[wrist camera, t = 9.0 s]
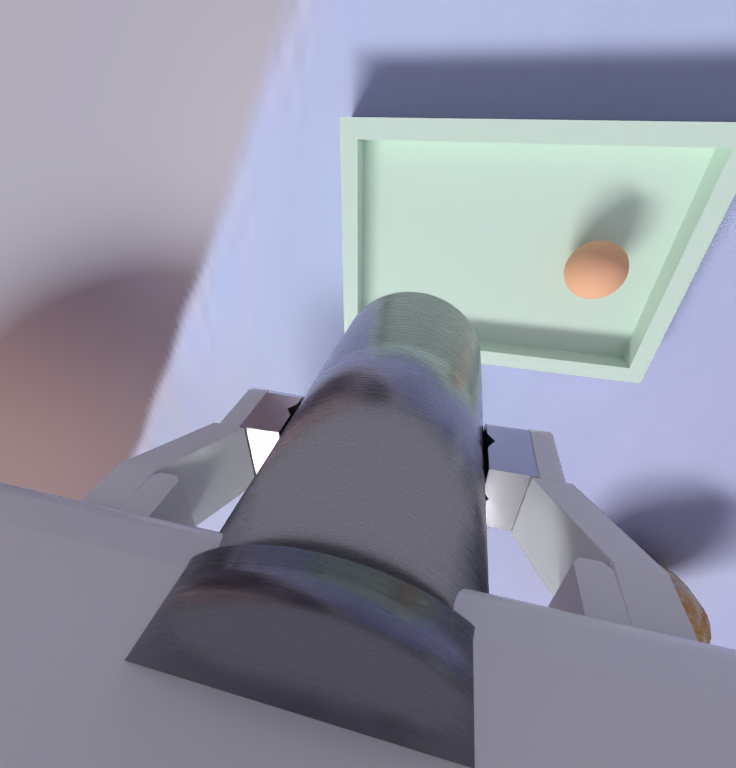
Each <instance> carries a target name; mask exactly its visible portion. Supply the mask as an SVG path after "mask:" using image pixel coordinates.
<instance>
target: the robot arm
mask: <svg viewBox="0 0 736 768" xmlns="http://www.w3.org/2000/svg"><path fill="white" fill-rule="evenodd" d="M303 399H304V396H299V395H293V394H288V393H282V392H276V391H269V390H263V389H257V388H253V389H250V390H248V392H247V393H246V394H245V395H244V396H243V397H242V398H241V400H240V401H239V402H238V403H237V404H236V405H235V406H234V408H233V409H232V410H231V411H230V412H229V413H228V415H227V416H226V417H225V418H224V419H223V420H222V421H221V423H220V424H219V423H213V424H210V425H208V426H206V427H203V428H201V429H199V430H196V431H194V432H192V433H189V434H187V435H185V436H182V437H180V438H178V439H175V440H173V441H171V442H168V443H166V444H164V445H161V446H159V447H157V448H154V449H152V450H150V451H147V452H145V453H143V454H140V455H138V456H136V457H133V458H131V459H129V460H126V461H124V462H122V463H120V464H119V465H118V466H117V467H116V468H115V469H114V470H113V471H112V472H111V473H110V474H109V475H108V476H107V477H106V478H104V479H103V480H102V481H101V482H100V483H99V484H98V485H97V486H96V487H95V488H94V489H93V490H92V491H91V492H90V493H89V494H87V495H86V496H85V497H84V498H83V499H82V500H81V501H80V500H75V499H71V498H66V497H62V496H58V495H53V494H49V493H44V492H40V491H35V490H31V489H26V488H22V487H18V486H14V485H9V484H4V483H0V768H470V767H467V766H464V765H461V764H457V763H454V762H451V761H448V760H444V759H441V758H438V757H435V756H432V755H428V754H425V753H422V752H419V751H415V750H412V749H409V748H406V747H402V746H399V745H396V744H393V743H390V742H386V741H383V740H380V739H377V738H373V737H370V736H367V735H364V734H360V733H357V732H354V731H351V730H348V729H344V728H341V727H338V726H335V725H331V724H328V723H325V722H322V721H319V720H315V719H312V718H309V717H306V716H302V715H299V714H296V713H293V712H289V711H286V710H283V709H280V708H277V707H273V706H270V705H267V704H264V703H260V702H257V701H254V700H251V699H247V698H244V697H241V696H238V695H235V694H231V693H228V692H225V691H222V690H218V689H215V688H212V687H209V686H206V685H202V684H199V683H196V682H193V681H189V680H186V679H183V678H180V677H176V676H173V675H170V674H167V673H164V672H160V671H157V670H154V669H151V668H147V667H144V666H141V665H138V664H134V663H131V662H128V661H125V659H126V657H127V656H128V654H129V653H130V651H131V650H132V648H133V647H134V645H135V644H136V642H137V641H138V639H139V638H140V636H141V635H142V633H143V632H144V630H145V629H146V627H147V626H148V624H149V623H150V621H151V620H152V618H153V617H154V615H155V614H156V612H157V610H158V609H159V607H160V606H161V604H162V603H163V601H164V600H165V598H166V597H167V595H168V594H169V592H170V591H171V589H172V588H173V586H174V585H175V583H176V582H177V580H178V579H179V577H180V576H181V574H182V573H183V571H184V570H185V568H186V567H187V565H188V563H189V561H190V560H191V558H192V557H193V556H195V555H197V554H200V553H202V552H204V551H207V550H210V549H215V548H218V547H219V545H220V543H221V540H222V537H223V534H222V533H220V532H216V531H211V530H207V529H203V528H198V527H197V525H198V524H199V523H201V522H202V521H204V520H205V519H206V518H208V517H209V516H211V515H212V514H213V513H215V512H216V511H218V510H219V509H220V508H222V507H223V506H225V505H226V504H227V503H229V502H230V501H232V500H233V499H234V498H236V497H237V496H239V495H240V494H241V493H243V492H244V491H246V489H247V488H248V486H249V485H250V483H251V481H252V480H253V478H254V477H255V475H256V473H257V472H258V470H259V469H260V467H261V466H262V464H263V462H264V461H265V459H266V458H267V456H268V454H269V453H270V451H271V450H272V448H273V447H274V445H275V443H276V442H277V440H278V439H279V437H280V435H281V434H282V432H283V431H284V429H285V428H286V426H287V424H288V423H289V421H290V420H291V418H292V416H293V415H294V413H295V412H296V410H297V408H298V407H299V405H300V404H301V402H302V401H303ZM483 441H484V470H485V498H486V526H489V527H494V528H498V529H503V530H507V531H512V532H511V534H512V535H513V537H514V538H515V540H516V541H517V543H518V544H519V546H520V548H521V549H522V551H523V552H524V554H525V555H526V557H527V558H528V560H529V562H530V563H531V565H532V566H533V568H534V569H535V571H536V572H537V574H538V576H539V577H540V579H541V580H542V582H543V583H544V585H545V586H546V588H547V590H548V591H549V593H550V594H551V596H552V597H553V599H552V601H551V602H550V604H549V606H548V607H545V606H541V605H536V604H532V603H528V602H523V601H519V600H514V599H510V598H506V597H501V596H497V595H492V594H488V593H484V592H479V591H475V590H470V589H462V590H461V591H459V593H458V595H457V596H456V600H455V604H454V607H453V610H454V611H456V612H457V613H458V614H460V615H461V616H462V617H464V618H465V619H466V620H468V621H469V622H470V623H471V624H472V625H473V626H475V630H474V637H473V673H474V746H475V768H736V650H734V649H729V648H725V647H720V646H716V645H712V644H707V643H703V642H699V641H698V639H697V637H696V635H695V632H694V630H693V628H692V626H691V623H690V621H689V619H688V617H687V614H686V612H685V610H684V607H683V605H682V603H681V601H680V598H679V596H678V594H677V592H676V589H675V587H674V585H673V583H672V580H671V578H670V576H669V574H668V573H667V572H666V571H665V570H664V569H663V568H662V567H661V566H660V565H659V564H658V563H657V562H655V561H654V560H653V559H652V558H651V557H650V556H649V555H648V554H647V553H646V552H645V551H644V550H643V549H642V548H640V547H639V546H638V545H637V544H636V543H635V542H634V541H633V540H632V539H631V538H630V537H629V536H628V535H627V534H626V533H624V532H623V531H622V530H621V529H620V528H619V527H618V526H617V525H616V524H615V523H614V522H613V521H612V520H611V519H609V518H608V517H607V516H606V515H605V514H604V513H603V512H602V511H601V510H600V509H599V508H598V507H597V506H596V505H594V504H593V503H592V502H591V501H590V500H589V499H588V498H587V497H586V496H585V495H584V494H583V493H582V492H581V491H580V490H578V489H577V488H576V487H575V486H574V485H573V484H569V483H566V482H565V478H564V474H563V471H562V467H561V463H560V460H559V456H558V452H557V449H556V445H555V441H554V438H553V435H552V434H551V433H550V432H544V431H536V430H524V429H517V428H510V427H503V426H496V425H489V424H485V426H484V429H483Z"/></svg>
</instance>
